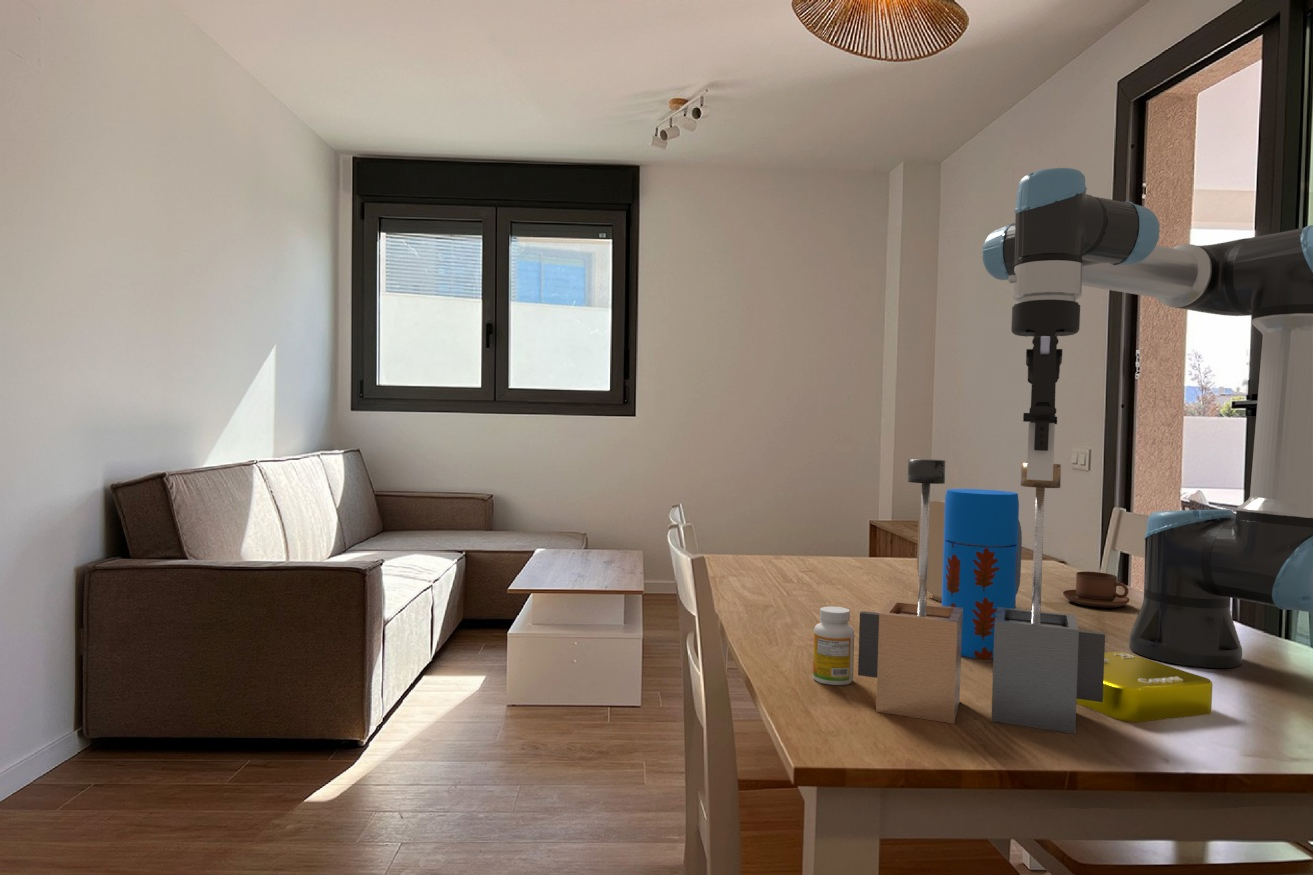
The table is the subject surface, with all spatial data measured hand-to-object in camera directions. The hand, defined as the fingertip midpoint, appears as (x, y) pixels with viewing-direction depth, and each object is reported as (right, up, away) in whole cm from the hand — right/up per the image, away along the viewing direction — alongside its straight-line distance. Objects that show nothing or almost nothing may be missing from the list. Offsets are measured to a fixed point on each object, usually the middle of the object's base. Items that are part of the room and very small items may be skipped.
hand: (1038, 477), depth 104 cm
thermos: (+4, -29, +31) cm, 43 cm away
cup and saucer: (+43, -29, +70) cm, 87 cm away
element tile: (+15, -30, +8) cm, 34 cm away
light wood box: (-15, -29, +4) cm, 33 cm away
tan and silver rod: (0, -19, 0) cm, 19 cm away
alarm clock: (+15, -28, +67) cm, 74 cm away
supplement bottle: (-22, -29, +13) cm, 39 cm away
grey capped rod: (-13, -19, +3) cm, 23 cm away
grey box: (+1, -29, 0) cm, 29 cm away
